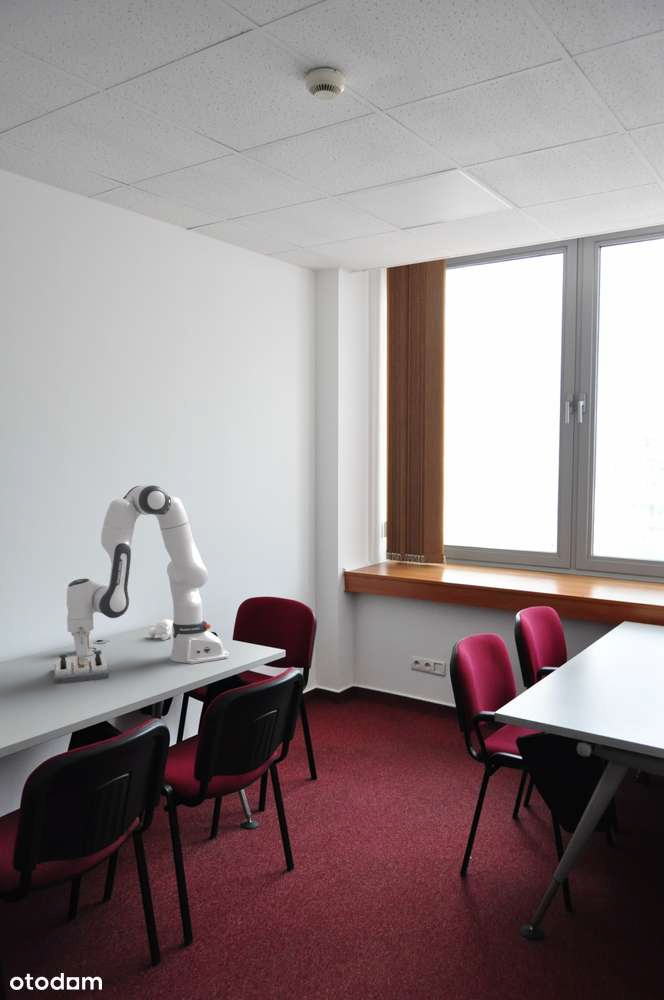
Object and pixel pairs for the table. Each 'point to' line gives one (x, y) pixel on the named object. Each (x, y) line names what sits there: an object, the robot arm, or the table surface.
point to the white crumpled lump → (162, 629)
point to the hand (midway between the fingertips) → (81, 663)
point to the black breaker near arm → (97, 656)
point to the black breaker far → (63, 660)
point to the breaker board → (81, 670)
